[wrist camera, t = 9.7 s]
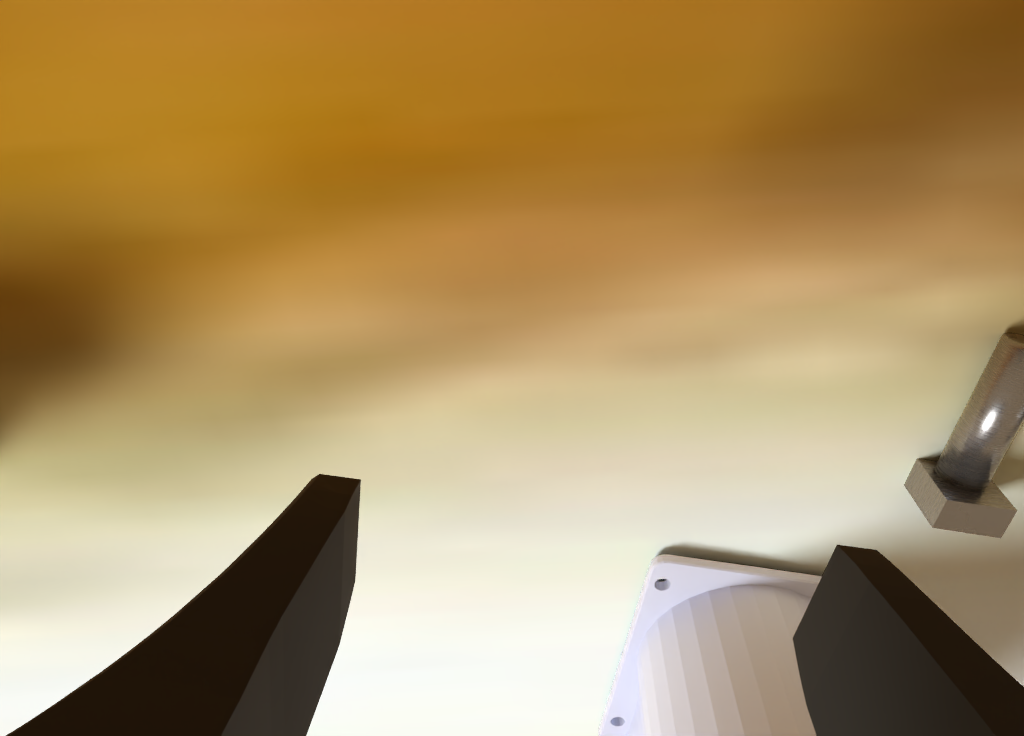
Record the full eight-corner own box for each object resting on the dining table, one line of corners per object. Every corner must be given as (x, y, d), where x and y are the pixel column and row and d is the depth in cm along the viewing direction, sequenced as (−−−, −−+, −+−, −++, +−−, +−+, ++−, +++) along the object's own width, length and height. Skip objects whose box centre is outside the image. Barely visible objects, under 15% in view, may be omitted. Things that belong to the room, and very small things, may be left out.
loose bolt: (967, 494, 23) (1001, 537, 21) (904, 484, 23) (932, 527, 21) (1052, 339, 20) (1098, 373, 19) (981, 328, 20) (1020, 362, 19)
